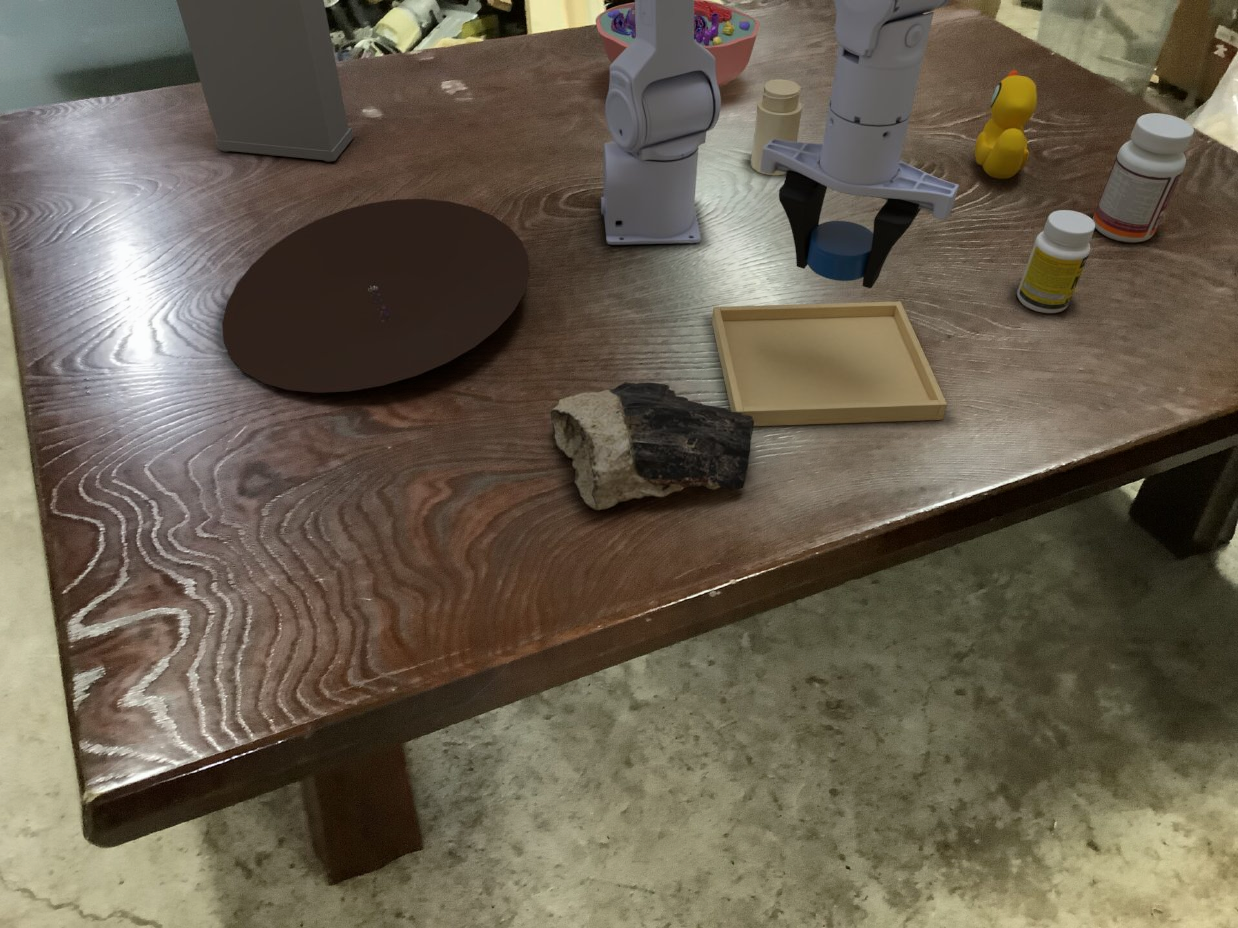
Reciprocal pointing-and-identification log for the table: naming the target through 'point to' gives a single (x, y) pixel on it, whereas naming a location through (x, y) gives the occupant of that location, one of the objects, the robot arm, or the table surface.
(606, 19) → the cell model
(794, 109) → the jar
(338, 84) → the grey upright box
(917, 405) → the tray
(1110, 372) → the table surface
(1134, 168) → the pill bottle
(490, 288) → the dark brown round disc
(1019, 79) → the duckling
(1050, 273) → the supplement bottle
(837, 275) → the lid
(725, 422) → the mineral specimen
